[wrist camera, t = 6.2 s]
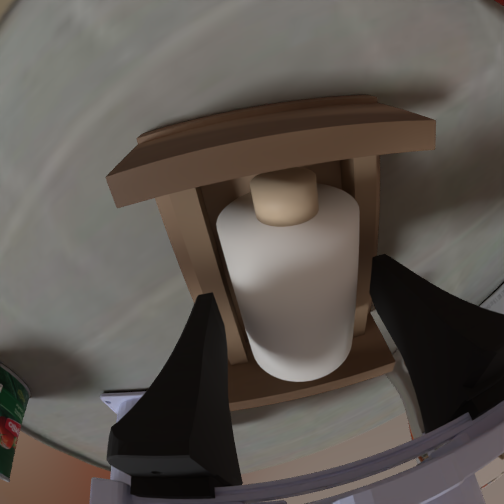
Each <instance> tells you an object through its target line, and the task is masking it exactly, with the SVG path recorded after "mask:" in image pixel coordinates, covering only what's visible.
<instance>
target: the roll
mask: <svg viewBox="0 0 504 504" xmlns="http://www.w3.org/2000/svg"><path fill="white" fill-rule="evenodd" d="M250 188H251V192H249V193H247V194H245V195H243V196H241V197H239V198H237V199H235V200H234V201H233V202H231V203H230V204H229V205H227V206H226V207H225V208H224V209H223V210H222V212H221V213H220V215H219V217H218V219H217V223H216V226H217V232H218V235H219V239H220V242H221V246H222V250H223V253H224V257H225V260H226V264H227V267H228V271H229V274H230V278H231V281H232V285H233V288H234V292H235V295H236V299H237V302H238V306H239V309H240V312H241V316H242V319H243V323H244V326H245V329H246V333H247V336H248V339H249V343H250V346H251V349H252V353H253V355H254V358H255V360H256V361H257V363H258V364H259V366H260V367H261V368H262V369H263V370H265V371H266V372H267V373H269V374H270V375H272V376H274V377H276V378H279V379H282V380H287V381H294V382H304V381H311V380H315V379H319V378H321V377H324V376H326V375H328V374H330V373H331V372H333V371H334V370H336V369H337V368H338V367H339V366H340V365H341V364H342V363H343V362H344V361H345V359H346V358H347V356H348V354H349V352H350V349H351V346H352V339H353V329H354V319H355V308H356V295H357V280H358V260H359V214H360V211H359V206H358V203H357V202H356V200H355V199H354V198H353V197H352V196H351V195H350V194H348V193H347V192H345V191H343V190H341V189H338V188H336V187H333V186H329V185H324V184H318V183H317V182H316V174H315V173H314V172H313V171H311V170H309V169H306V168H300V167H293V168H287V169H282V170H276V171H271V172H266V173H261V174H258V175H256V176H255V177H254V178H252V179H251V181H250Z"/></svg>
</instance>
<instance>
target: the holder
mask: <svg viewBox="0 0 504 504" xmlns="http://www.w3.org/2000/svg"><path fill="white" fill-rule="evenodd" d="M435 140H436V120H433V119H431V118H428V117H425V116H422V115H419V114H415V113H412V112H409V111H406V110H403V109H399V108H396V107H392V106H389V105H385V104H381V103H378V102H377V97H375V96H370V95H351V96H336V97H324V98H314V99H305V100H297V101H289V102H282V103H275V104H268V105H262V106H256V107H250V108H245V109H240V110H234V111H229V112H225V113H220V114H215V115H211V116H206V117H202V118H198V119H194V120H190V121H186V122H182V123H178V124H174V125H171V126H167V127H164V128H160V129H157V130H153V131H150V132H147V133H143V134H141V135H140V136H139V137H138V138H137V142H138V145H137V146H136V147H135V148H134V149H133V150H132V151H131V152H130V153H129V154H128V155H127V156H126V157H125V158H124V159H123V160H122V161H121V162H120V163H119V164H118V165H117V166H116V167H115V168H114V169H113V170H112V171H111V172H110V173H109V174H108V175H107V176H106V180H107V183H108V186H109V188H110V191H111V194H112V196H113V199H114V202H115V204H116V207H117V208H120V207H124V206H127V205H131V204H134V203H138V202H141V201H145V200H149V199H152V198H155V199H156V202H157V205H158V208H159V211H160V214H161V217H162V220H163V223H164V225H165V228H166V231H167V234H168V237H169V239H170V242H171V245H172V247H173V250H174V253H175V255H176V258H177V261H178V263H179V266H180V269H181V271H182V274H183V276H184V279H185V281H186V284H187V286H188V289H189V291H190V294H191V296H192V299H193V301H194V303H195V301H196V298H197V296H198V295H201V294H206V293H211V292H213V294H214V297H215V300H216V303H217V305H218V308H219V311H220V314H221V317H222V320H223V322H224V325H225V332H226V339H227V349H228V399H229V408H230V411H235V410H241V409H248V408H254V407H259V406H265V405H270V404H275V403H280V402H285V401H290V400H294V399H299V398H303V397H307V396H311V395H315V394H319V393H323V392H327V391H331V390H334V389H338V388H341V387H345V386H348V385H352V384H355V383H358V382H361V381H365V380H368V379H371V378H374V377H377V376H380V375H383V374H386V373H388V372H391V371H393V368H394V365H395V362H396V361H395V359H394V357H393V355H392V353H391V351H390V349H389V348H388V346H387V344H386V342H385V340H384V338H383V336H382V334H381V332H380V330H379V328H378V327H377V325H376V323H375V321H374V319H373V317H372V315H371V314H370V311H371V304H372V298H371V296H370V294H369V289H370V280H371V269H372V257H375V256H377V246H378V231H379V210H380V155H383V154H392V153H402V152H412V151H424V150H435ZM293 167H300V168H306V169H309V170H311V171H313V172H314V173H315V174H316V182H317V183H318V184H324V185H329V186H333V187H336V188H338V189H341V190H343V191H345V192H347V193H348V194H350V195H351V196H352V197H353V198H354V199H355V200H356V202H357V203H358V206H359V211H360V214H359V260H358V280H357V295H356V308H355V319H354V329H353V339H352V346H351V349H350V352H349V354H348V356H347V358H346V359H345V361H344V362H343V363H342V364H341V365H340V366H339V367H338V368H337V369H336V370H334V371H333V372H331V373H330V374H328V375H326V376H324V377H321V378H319V379H315V380H311V381H304V382H294V381H287V380H282V379H279V378H276V377H274V376H272V375H270V374H269V373H267V372H266V371H265V370H263V369H262V368H261V367H260V366H259V364H258V363H257V361H256V360H255V358H254V355H253V353H252V349H251V346H250V343H249V339H248V336H247V333H246V329H245V326H244V323H243V319H242V316H241V312H240V309H239V306H238V302H237V299H236V295H235V292H234V288H233V285H232V281H231V278H230V274H229V271H228V267H227V264H226V260H225V257H224V253H223V250H222V246H221V242H220V239H219V235H218V232H217V226H216V223H217V219H218V217H219V215H220V213H221V212H222V210H223V209H224V208H225V207H226V206H227V205H229V204H230V203H231V202H233V201H234V200H235V199H237V198H239V197H241V196H243V195H245V194H247V193H249V192H251V188H250V181H251V179H252V178H254V177H255V176H256V175H258V174H261V173H266V172H271V171H276V170H282V169H287V168H293Z"/></svg>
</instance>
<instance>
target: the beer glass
mask: <svg viewBox="0 0 504 504" xmlns="http://www.w3.org/2000/svg"><path fill="white" fill-rule="evenodd" d="M392 355H393V357H394V359H395V361H396V362H395V365H394V368H393V371H391V372H388V373H386V374H385V375H386V376H387V378H388V379H389V381H390V382H391V383H392V385H393V386H394V387H395V389H396V390H397V392H398V393H399V395H400V398H401V399H402V402H403V405H404V407H405V411H406V415H407V419H408V424H409V429H410V434H411V440H414V439H416V438H418V437H420V436H423V435H425V430H424V425H423V420H422V416H421V411H420V407H419V404H418V400H417V397H416V393H415V390H414V387H413V384H412V381H411V378H410V375H409V373H408V370H407V367H406V365H405V362H404V360H403V357H402V355H401V353H400V351H399V349H397V350H396V351H395V352H394V353H393V354H392ZM447 443H448V442H447ZM445 444H446V443H445ZM442 446H443V445H442ZM440 447H441V446H440ZM438 448H439V447H438ZM438 448H436V449H438ZM436 449H434V450H436ZM434 450H432V451H430V452H428V453H425V454H423V455H421V456H419V457H417V458H416V462H417V465H418V464H419V463H421V462H422V461H423V460H425V459H426V458H427V457H428V456H430V454H431V452H433V451H434ZM503 474H504V453H502V454H501V455H500V456H498V457H497V458H496V459H494V460H493V461H492V462H490V463H489V464H487V465H486V466H485V467H483V468H482V469H480V470H479V471H477V472H476V473H475V476H476V479H477V481H478V484H479V487H480V489H481V490H482V489H484V488H485V487H487V486H488V485H490V484H491V483H493V482H494V481H495V480H497V479H498V478H499V477H501V476H502V475H503Z"/></svg>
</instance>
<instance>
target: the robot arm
mask: <svg viewBox="0 0 504 504" xmlns="http://www.w3.org/2000/svg"><path fill="white" fill-rule="evenodd" d="M369 294H370V296H371V298H372V301H373V303H374V306H375V308H376V310H377V312H378V314H379V316H380V318H381V319H382V321H383V323H384V325H385V326H386V328H387V330H388V332H389V333H390V335H391V337H392V339H393V340H394V342H395V344H396V346H397V348H398V349H399V351H400V353H401V355H402V357H403V360H404V362H405V365H406V367H407V370H408V373H409V375H410V378H411V381H412V384H413V387H414V390H415V393H416V397H417V400H418V404H419V407H420V411H421V416H422V420H423V425H424V430H425V435H423V436H420V437H418V438H416V439H414V440H411V441H409V442H407V443H404V444H402V445H400V446H397V447H395V448H392V449H389V450H387V451H384V452H382V453H379V454H376V455H373V456H371V457H367V458H364V459H361V460H358V461H355V462H352V463H349V464H345V465H342V466H339V467H335V468H331V469H327V470H323V471H320V472H315V473H311V474H307V475H302V476H298V477H292V478H287V479H282V480H276V481H270V482H263V483H256V484H248V485H242V483H243V482H242V478H241V473H240V468H239V463H238V458H237V453H236V447H235V442H234V436H233V429H232V423H231V416H230V408H229V399H228V349H227V339H226V332H225V325H224V322H223V320H222V317H221V314H220V311H219V308H218V305H217V303H216V300H215V297H214V294H213V292H211V293H206V294H201V295H198V296H197V298H196V301H195V303H194V306H193V309H192V311H191V314H190V316H189V319H188V321H187V323H186V325H185V328H184V330H183V332H182V334H181V336H180V338H179V340H178V342H177V344H176V346H175V348H174V350H173V352H172V354H171V356H170V357H169V359H168V361H167V362H166V364H165V366H164V367H163V369H162V370H161V372H160V373H159V375H158V376H157V378H156V379H155V380H154V382H153V383H152V385H151V386H150V387H149V389H148V390H147V391H142V392H125V393H102V394H101V395H100V399H101V400H102V401H103V402H104V403H105V404H106V405H107V406H109V407H110V408H111V409H112V410H113V411H114V412H115V413H116V414H117V421H116V424H115V425H113V426H112V427H111V431H110V435H109V441H108V450H107V461H108V463H109V464H110V465H111V479H110V480H109V479H102V478H92V481H91V493H90V504H245V503H246V504H287V502H286V501H284V500H282V501H270V502H262V501H269V500H276V499H282V498H288V497H293V496H298V495H303V494H308V493H312V492H317V491H321V490H325V489H329V488H333V487H336V486H339V485H343V484H347V483H350V482H354V481H357V480H360V479H363V478H366V477H369V476H372V475H375V474H377V473H380V472H383V471H386V470H388V469H391V468H393V467H396V466H398V465H401V464H403V463H405V462H408V461H410V460H412V459H415V458H417V457H419V456H421V455H423V454H425V453H428V452H430V451H432V450H434V449H436V448H438V447H439V448H438V449H436V450H434V451H433V452H431V454H430V456H428V457H427V458H426V459H425V460H423V461H422V462H421V463H419V464H418V465H416V466H415V467H413V468H410V469H408V470H406V471H403V472H401V473H398V474H396V475H393V476H391V477H388V478H385V479H383V480H380V481H377V482H375V483H372V484H369V485H366V486H363V487H360V488H357V489H355V490H351V491H348V492H345V493H342V494H339V495H335V496H332V497H329V498H325V499H321V500H318V501H314V502H310V503H306V504H485V501H484V498H483V495H482V492H481V489H480V487H479V484H478V481H477V479H476V476H475V473H476V472H477V471H479V470H480V469H482V468H483V467H485V466H486V465H487V464H489V463H490V462H492V461H493V460H494V459H496V458H497V457H498V456H500V455H501V454H502V453H504V314H501V313H498V312H494V311H491V310H488V309H485V308H482V307H479V306H477V305H474V304H472V303H469V302H467V301H464V300H462V299H460V298H458V297H456V296H454V295H452V294H450V293H448V292H446V291H444V290H442V289H440V288H439V287H437V286H435V285H433V284H432V283H430V282H428V281H427V280H425V279H423V278H422V277H420V276H419V275H417V274H415V273H414V272H412V271H411V270H409V269H408V268H406V267H405V266H403V265H402V264H400V263H399V262H397V261H396V260H394V259H392V258H391V257H389V256H387V255H386V254H383V255H379V256H375V257H372V269H371V280H370V289H369ZM447 442H448V443H447ZM445 443H446V444H445ZM442 445H443V446H442ZM440 446H441V447H440Z"/></svg>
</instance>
